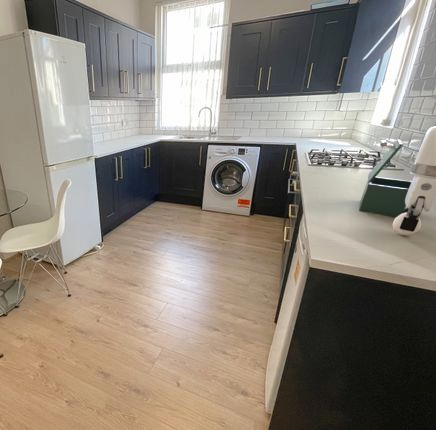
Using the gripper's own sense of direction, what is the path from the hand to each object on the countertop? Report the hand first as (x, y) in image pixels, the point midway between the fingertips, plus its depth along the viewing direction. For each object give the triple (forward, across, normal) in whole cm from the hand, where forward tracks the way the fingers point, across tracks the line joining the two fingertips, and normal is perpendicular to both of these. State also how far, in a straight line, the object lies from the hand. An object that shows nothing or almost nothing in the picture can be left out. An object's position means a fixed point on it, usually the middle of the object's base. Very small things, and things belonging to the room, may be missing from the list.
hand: (405, 226), depth 88 cm
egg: (+3, 0, 0) cm, 3 cm away
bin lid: (-15, +26, +8) cm, 31 cm away
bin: (+3, +26, +4) cm, 26 cm away
